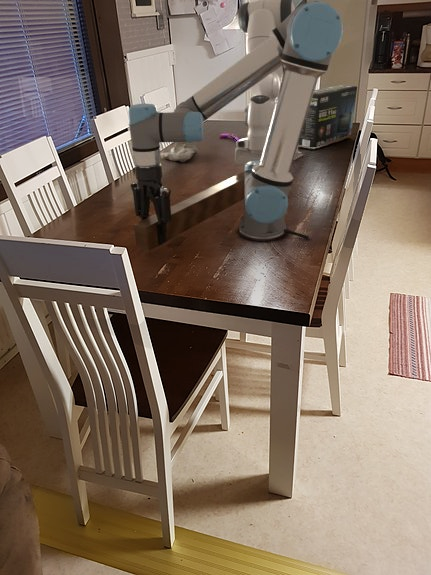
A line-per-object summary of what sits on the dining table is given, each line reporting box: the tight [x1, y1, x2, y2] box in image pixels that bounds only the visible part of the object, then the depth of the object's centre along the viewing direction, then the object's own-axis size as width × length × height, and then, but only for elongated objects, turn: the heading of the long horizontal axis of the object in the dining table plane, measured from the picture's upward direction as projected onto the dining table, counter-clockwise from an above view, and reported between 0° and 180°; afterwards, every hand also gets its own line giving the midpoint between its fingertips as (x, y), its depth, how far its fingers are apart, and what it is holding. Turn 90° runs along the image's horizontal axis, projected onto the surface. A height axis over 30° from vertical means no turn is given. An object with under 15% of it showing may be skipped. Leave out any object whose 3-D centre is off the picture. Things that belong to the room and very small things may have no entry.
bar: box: [133, 171, 245, 253], centre depth 157 cm, size 71×5×8 cm, turn 144°
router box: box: [298, 84, 358, 151], centre depth 238 cm, size 36×11×27 cm, turn 134°
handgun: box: [220, 132, 240, 142], centre depth 257 cm, size 21×8×2 cm, turn 11°
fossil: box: [160, 142, 199, 163], centre depth 229 cm, size 18×11×15 cm
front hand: (155, 240), depth 139 cm, fingers closed on bar, 5 cm apart
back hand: (258, 179), depth 178 cm, fingers closed on bar, 5 cm apart
